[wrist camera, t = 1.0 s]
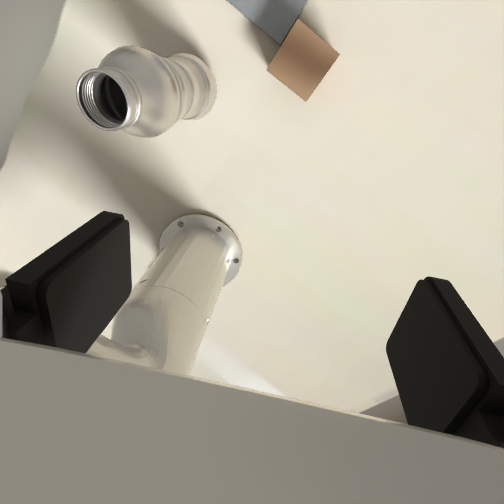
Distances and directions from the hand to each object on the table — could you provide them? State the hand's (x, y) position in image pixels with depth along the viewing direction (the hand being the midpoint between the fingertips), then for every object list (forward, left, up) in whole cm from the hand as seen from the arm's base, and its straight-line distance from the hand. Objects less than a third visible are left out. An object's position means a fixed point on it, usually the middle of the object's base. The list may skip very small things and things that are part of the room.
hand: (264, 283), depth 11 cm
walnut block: (+6, +3, -33) cm, 34 cm away
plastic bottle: (-3, +12, -33) cm, 35 cm away
